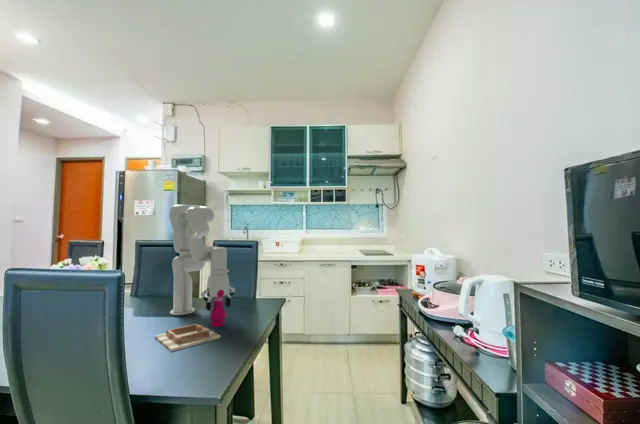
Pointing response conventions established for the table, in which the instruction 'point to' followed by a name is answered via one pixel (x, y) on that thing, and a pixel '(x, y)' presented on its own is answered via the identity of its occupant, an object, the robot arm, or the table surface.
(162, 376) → the table surface
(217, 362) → the table surface
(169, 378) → the table surface
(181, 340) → the board
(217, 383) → the table surface
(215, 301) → the pepper mill
